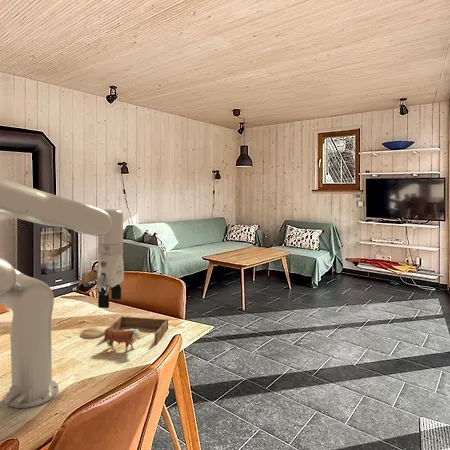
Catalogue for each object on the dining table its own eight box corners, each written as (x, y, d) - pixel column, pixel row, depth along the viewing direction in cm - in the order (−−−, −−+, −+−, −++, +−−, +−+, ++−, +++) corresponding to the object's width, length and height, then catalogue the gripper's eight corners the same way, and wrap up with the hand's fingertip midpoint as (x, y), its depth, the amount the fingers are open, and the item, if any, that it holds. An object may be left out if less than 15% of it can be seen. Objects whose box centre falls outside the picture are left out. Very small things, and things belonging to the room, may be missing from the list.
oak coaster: (99, 339, 135) (99, 336, 135) (76, 337, 136) (76, 335, 136) (109, 330, 144) (109, 328, 144) (88, 328, 145) (88, 326, 145)
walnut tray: (156, 344, 132) (156, 334, 131) (104, 340, 134) (104, 330, 133) (168, 329, 147) (168, 319, 147) (121, 325, 149) (121, 316, 149)
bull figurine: (139, 354, 123) (139, 331, 122) (103, 350, 126) (102, 327, 125) (144, 349, 127) (144, 327, 127) (109, 345, 130) (109, 323, 129)
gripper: (110, 253, 104) (110, 312, 105) (132, 245, 121) (131, 296, 122) (85, 252, 105) (85, 311, 106) (110, 244, 122) (110, 295, 123)
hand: (110, 303), depth 114 cm, fingers open, 8 cm apart
